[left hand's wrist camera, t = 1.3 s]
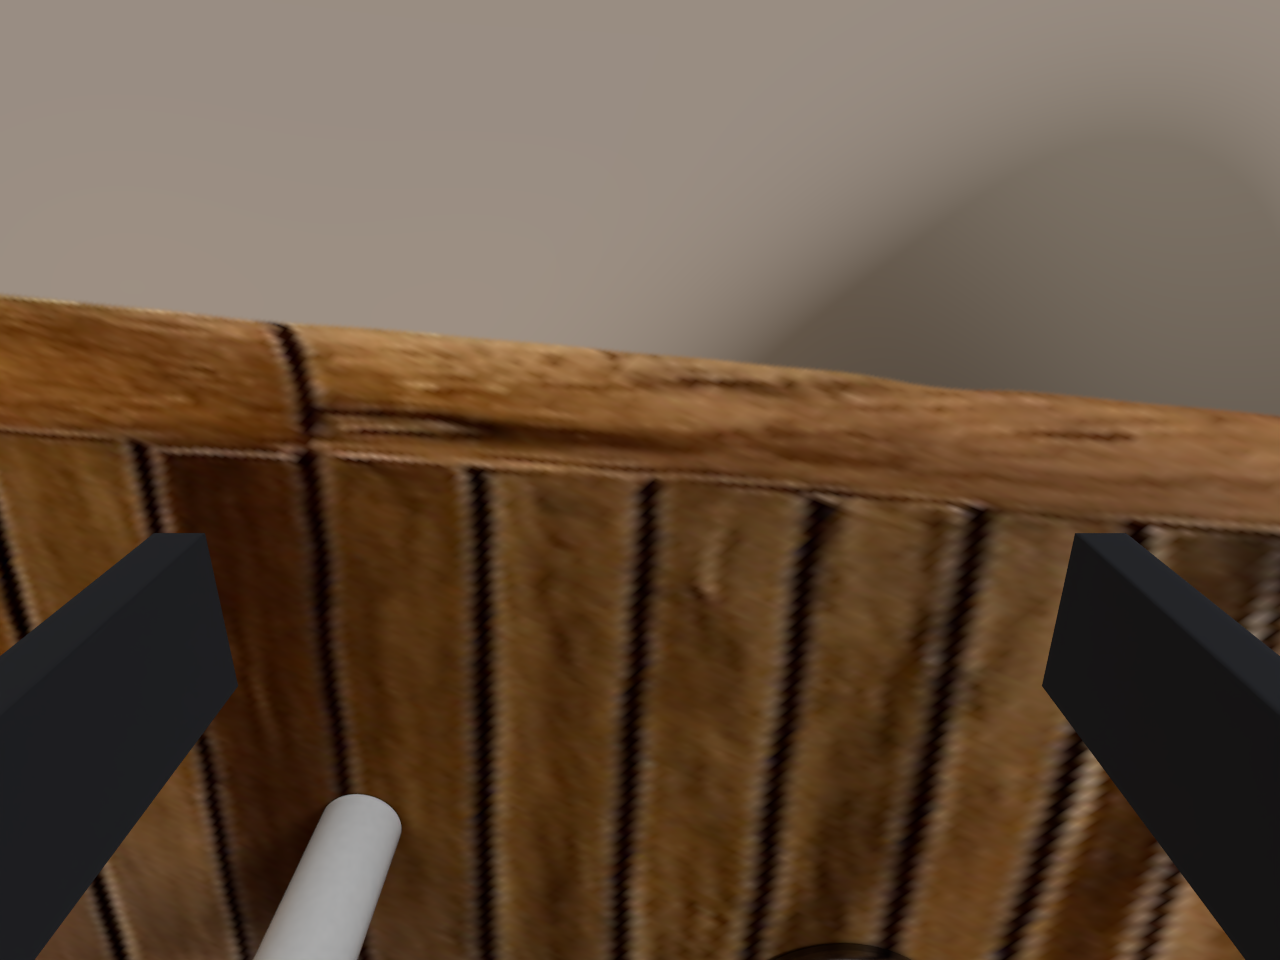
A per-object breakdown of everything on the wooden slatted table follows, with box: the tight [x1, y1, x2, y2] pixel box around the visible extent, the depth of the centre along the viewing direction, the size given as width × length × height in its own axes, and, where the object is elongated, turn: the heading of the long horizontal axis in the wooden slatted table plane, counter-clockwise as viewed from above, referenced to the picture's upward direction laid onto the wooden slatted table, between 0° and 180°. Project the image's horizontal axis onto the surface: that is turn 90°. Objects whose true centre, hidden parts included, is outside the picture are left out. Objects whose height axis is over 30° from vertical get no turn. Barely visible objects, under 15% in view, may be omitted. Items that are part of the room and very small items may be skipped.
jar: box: [253, 794, 401, 960], centre depth 43 cm, size 5×5×17 cm
